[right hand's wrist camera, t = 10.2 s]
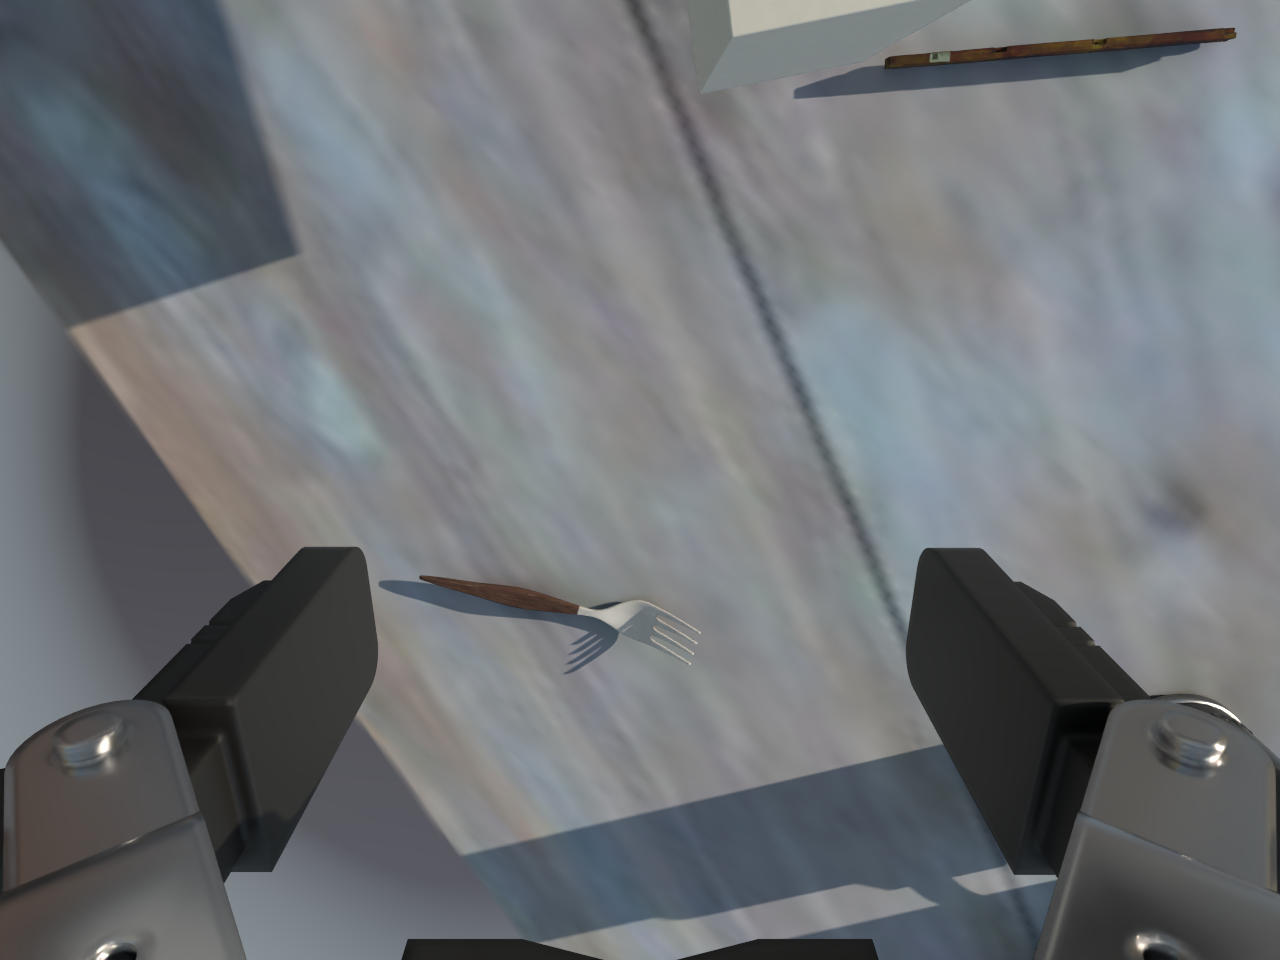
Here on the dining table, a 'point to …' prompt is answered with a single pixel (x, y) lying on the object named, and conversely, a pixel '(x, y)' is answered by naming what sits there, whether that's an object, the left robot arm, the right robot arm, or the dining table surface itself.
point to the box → (796, 35)
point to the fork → (580, 610)
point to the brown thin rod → (1060, 48)
